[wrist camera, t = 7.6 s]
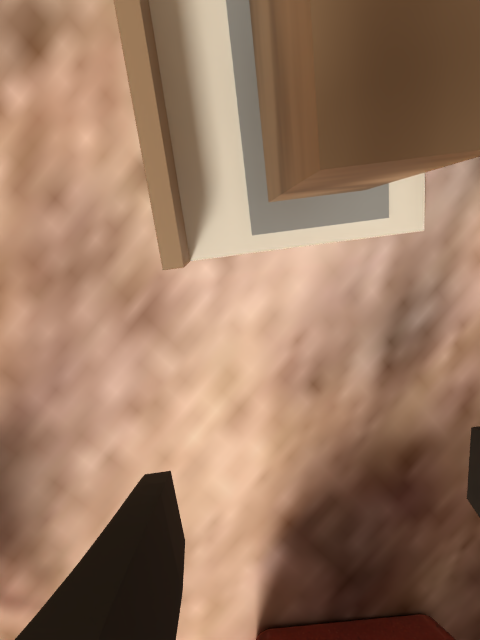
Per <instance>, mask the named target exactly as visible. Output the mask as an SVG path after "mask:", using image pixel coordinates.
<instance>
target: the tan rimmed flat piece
mask: <svg viewBox="0 0 480 640" xmlns="http://www.w3.org/2000/svg"><path fill="white" fill-rule="evenodd" d="M114 5H115V10H116V16H117V21H118V27H119V32H120V38H121V43H122V49H123V54H124V60H125V65H126V71H127V76H128V82H129V87H130V93H131V98H132V104H133V109H134V115H135V120H136V126H137V131H138V137H139V142H140V148H141V153H142V158H143V164H144V169H145V175H146V180H147V186H148V191H149V197H150V202H151V208H152V213H153V219H154V224H155V230H156V235H157V241H158V246H159V252H160V257H161V263H162V268H163V270H168V269H176V268H183V267H185V266H186V265H187V264H188V263H189V262H190V261H195V260H203V259H210V258H218V257H226V256H233V255H241V254H249V253H257V252H264V251H272V250H280V249H287V248H295V247H303V246H310V245H318V244H326V243H333V242H341V241H349V240H356V239H364V238H372V237H379V236H387V235H395V234H403V233H410V232H418V231H424V210H425V173H421V174H418V175H415V176H411V177H408V178H404V179H401V180H398V181H394V182H391V183H387V184H384V185H381V186H377V187H374V188H371V189H367V190H363V191H355V192H347V193H339V194H331V195H323V196H315V197H307V198H299V199H291V200H283V201H276V202H268V191H267V181H266V170H265V160H264V150H263V139H262V129H261V119H260V108H259V98H258V88H257V77H256V67H255V56H254V46H253V36H252V25H251V15H250V5H249V0H114Z"/></svg>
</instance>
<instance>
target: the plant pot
mask: <svg viewBox="0 0 480 640" xmlns="http://www.w3.org/2000/svg"><path fill="white" fill-rule="evenodd" d="M256 640H455V639H454V638H453V637H452V636H451V635H450V634H449V633H448V632H447V631H446V630H445V629H444V628H442V627H441V626H440V625H439V624H438V623H437V622H436V621H435V620H434V619H433V618H431V617H430V616H427V615H422V614H418V615H409V616H399V617H387V618H377V619H366V620H356V621H346V622H336V623H326V624H316V625H306V626H296V627H285V628H274V629H267V630H265V631H263V632H261V633H260V634H259V635H258V637H257V638H256Z"/></svg>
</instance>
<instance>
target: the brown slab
mask: <svg viewBox="0 0 480 640" xmlns="http://www.w3.org/2000/svg"><path fill="white" fill-rule="evenodd" d="M249 5H250V15H251V25H252V36H253V46H254V56H255V67H256V77H257V88H258V98H259V108H260V119H261V129H262V139H263V150H264V160H265V170H266V181H267V191H268V202H276V201H283V200H291V199H299V198H307V197H315V196H323V195H331V194H339V193H347V192H355V191H363V190H367V189H371V188H374V187H377V186H381V185H384V184H387V183H391V182H394V181H398V180H401V179H404V178H408V177H411V176H415V175H418V174H421V173H425V172H428V171H431V170H435V169H438V168H442V167H445V166H448V165H452V164H455V163H458V162H462V161H465V160H469V159H472V158H475V157H479V156H480V0H249Z"/></svg>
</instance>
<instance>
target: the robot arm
mask: <svg viewBox="0 0 480 640" xmlns="http://www.w3.org/2000/svg"><path fill="white" fill-rule="evenodd" d="M467 499H468V501H469V502H470V504H471V505H472V507H473V508H474V510H475V511H476V513H477V514H478V516H479V517H480V426H479V427H472V428H471V442H470V458H469V474H468V490H467ZM184 553H185V538H184V533H183V528H182V524H181V519H180V514H179V509H178V504H177V499H176V494H175V490H174V485H173V480H172V475H171V471H166V472H159V473H152V474H145V475H144V476H143V477H142V479H141V480H140V481H139V483H138V484H137V485H136V487H135V488H134V489H133V491H132V492H131V493H130V495H129V496H128V498H127V499H126V500H125V502H124V503H123V505H122V506H121V507H120V509H119V510H118V511H117V513H116V514H115V515H114V517H113V518H112V520H111V521H110V522H109V524H108V525H107V526H106V528H105V529H104V530H103V532H102V533H101V534H100V536H99V537H98V538H97V540H96V541H95V542H94V543H93V545H92V546H91V547H90V549H89V550H88V551H87V553H86V554H85V555H84V557H83V558H82V559H81V561H80V562H79V563H78V564H77V566H76V567H75V568H74V569H73V571H72V572H71V573H70V574H69V576H68V577H67V578H66V579H65V580H64V582H63V583H62V584H61V585H60V587H59V588H58V589H57V590H56V591H55V593H54V594H53V595H52V596H51V597H50V599H49V600H48V601H47V602H46V604H45V605H44V606H43V607H42V608H41V610H40V611H39V612H38V613H37V615H36V616H35V617H34V618H33V619H32V620H31V622H30V623H29V624H28V625H27V626H26V627H25V628H24V630H23V631H22V632H21V633H20V634H19V635H18V637H17V638H16V639H15V640H176V634H177V627H178V620H179V613H180V606H181V599H182V591H183V573H184Z"/></svg>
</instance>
